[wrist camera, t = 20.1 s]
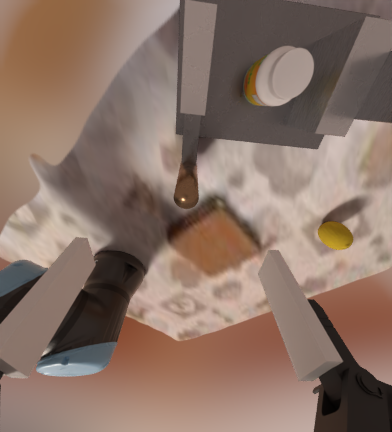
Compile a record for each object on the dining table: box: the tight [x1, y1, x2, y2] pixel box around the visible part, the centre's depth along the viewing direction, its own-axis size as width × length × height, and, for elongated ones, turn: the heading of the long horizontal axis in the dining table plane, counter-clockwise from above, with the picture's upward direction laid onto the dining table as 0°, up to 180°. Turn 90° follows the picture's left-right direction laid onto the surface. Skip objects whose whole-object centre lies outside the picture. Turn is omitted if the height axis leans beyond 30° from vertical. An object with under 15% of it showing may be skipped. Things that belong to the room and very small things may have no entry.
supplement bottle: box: [243, 46, 314, 106], centre depth 21 cm, size 5×5×10 cm
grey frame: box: [176, 0, 392, 149], centre depth 20 cm, size 25×16×16 cm, turn 84°
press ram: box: [174, 0, 217, 209], centre depth 22 cm, size 3×19×13 cm, turn 174°
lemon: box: [318, 221, 353, 250], centre depth 39 cm, size 6×6×8 cm
